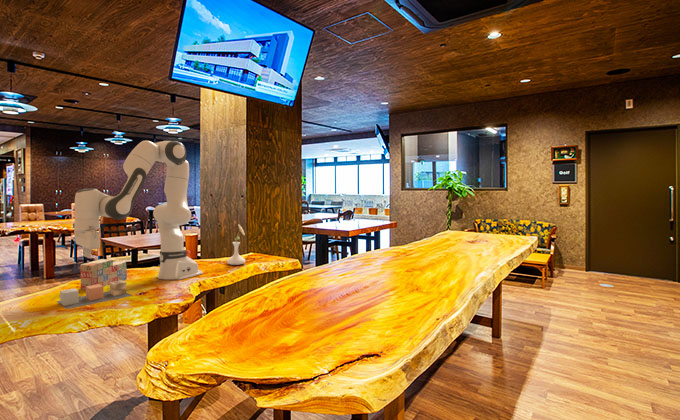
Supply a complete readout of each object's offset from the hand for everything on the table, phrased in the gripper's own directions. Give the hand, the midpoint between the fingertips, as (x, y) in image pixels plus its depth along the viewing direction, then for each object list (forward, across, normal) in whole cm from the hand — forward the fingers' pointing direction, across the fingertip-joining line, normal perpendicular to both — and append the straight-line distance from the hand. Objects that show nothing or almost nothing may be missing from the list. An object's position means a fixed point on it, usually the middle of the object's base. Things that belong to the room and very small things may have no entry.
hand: (87, 256), depth 159 cm
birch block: (+17, -8, -10) cm, 21 cm away
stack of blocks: (+17, +14, -11) cm, 25 cm away
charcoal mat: (+17, -8, 0) cm, 19 cm away
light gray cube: (+17, -7, +8) cm, 20 cm away
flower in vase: (+16, +8, -82) cm, 84 cm away
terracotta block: (+17, -7, 0) cm, 18 cm away
